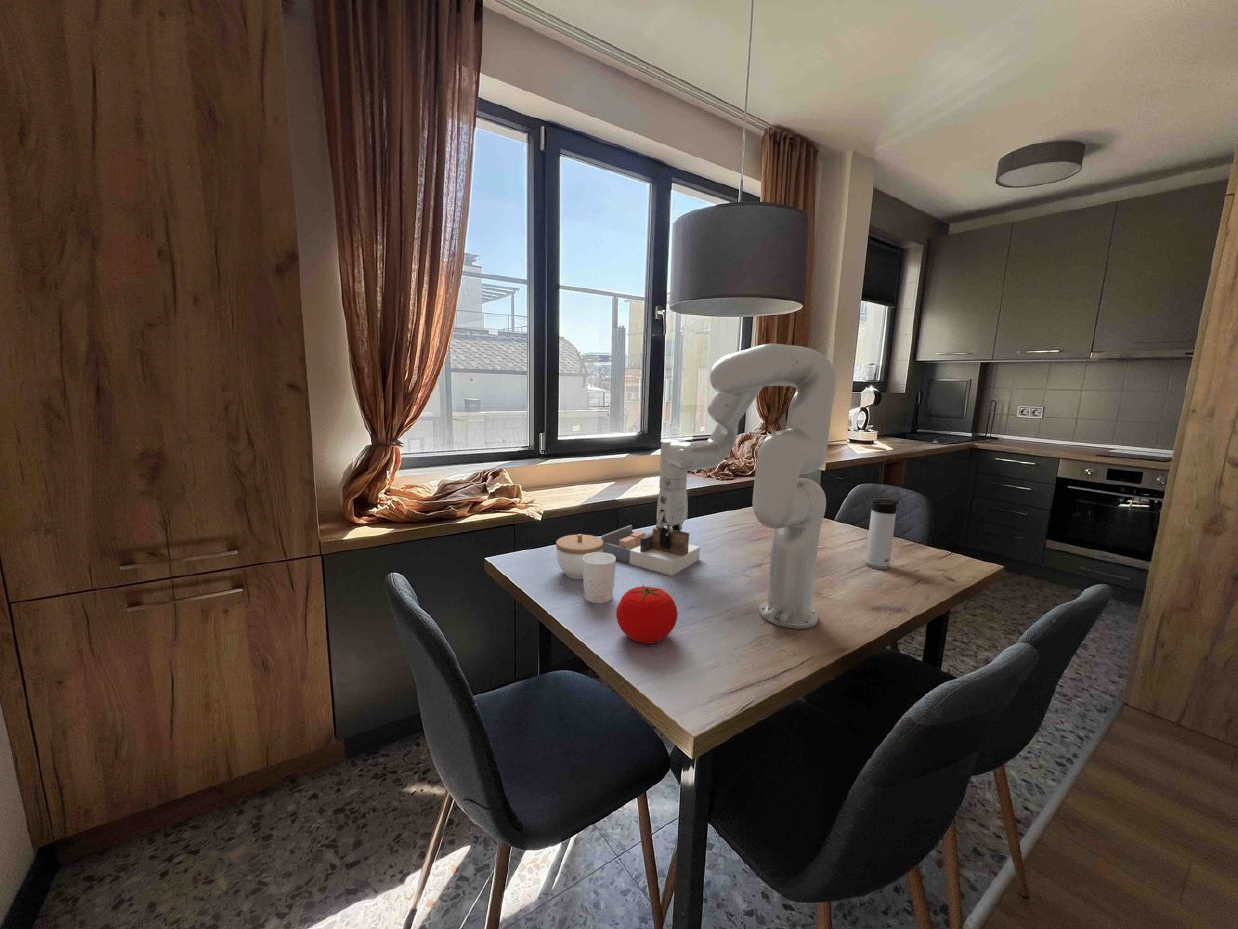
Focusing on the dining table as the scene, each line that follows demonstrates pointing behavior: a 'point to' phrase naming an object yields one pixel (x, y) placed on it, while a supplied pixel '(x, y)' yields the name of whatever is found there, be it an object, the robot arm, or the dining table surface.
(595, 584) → the white cup
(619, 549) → the tray
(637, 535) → the tile
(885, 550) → the travel mug
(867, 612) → the dining table surface
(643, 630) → the tomato
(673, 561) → the board
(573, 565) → the lidded bowl
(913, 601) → the dining table surface
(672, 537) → the scraper
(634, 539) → the tile
